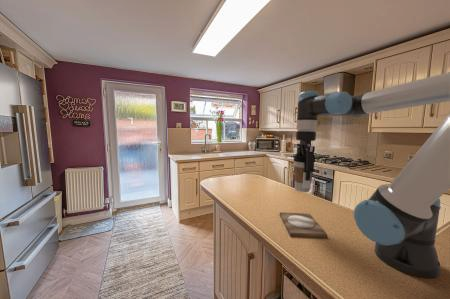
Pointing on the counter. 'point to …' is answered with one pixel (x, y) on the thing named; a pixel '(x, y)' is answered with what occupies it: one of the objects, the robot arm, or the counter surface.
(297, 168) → the coffee cup
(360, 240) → the counter surface
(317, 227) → the board
